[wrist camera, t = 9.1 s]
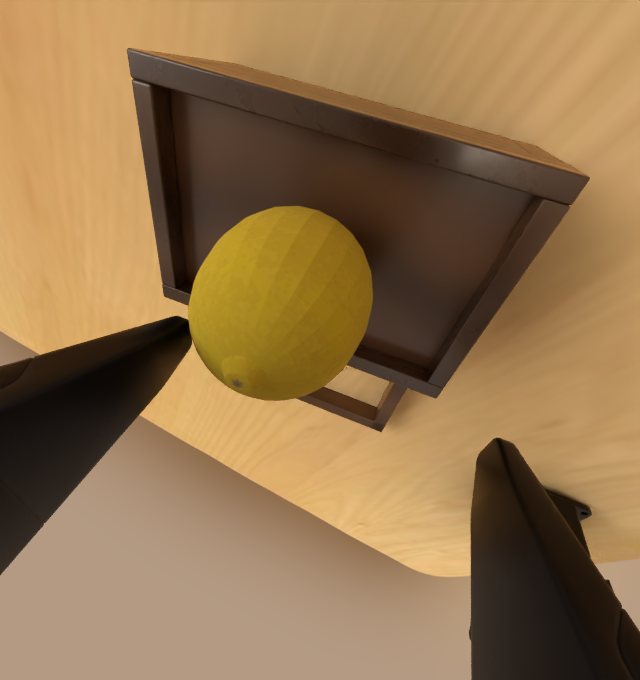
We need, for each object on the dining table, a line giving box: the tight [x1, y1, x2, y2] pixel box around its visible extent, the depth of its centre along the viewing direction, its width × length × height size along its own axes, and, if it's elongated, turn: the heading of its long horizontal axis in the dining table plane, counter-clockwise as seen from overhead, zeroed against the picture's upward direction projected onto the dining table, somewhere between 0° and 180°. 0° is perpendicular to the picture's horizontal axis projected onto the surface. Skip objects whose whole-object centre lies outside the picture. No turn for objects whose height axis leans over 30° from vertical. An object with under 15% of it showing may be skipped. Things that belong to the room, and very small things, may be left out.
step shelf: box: [127, 48, 590, 432], centre depth 19 cm, size 21×15×7 cm
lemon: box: [188, 206, 373, 401], centre depth 11 cm, size 6×6×8 cm
